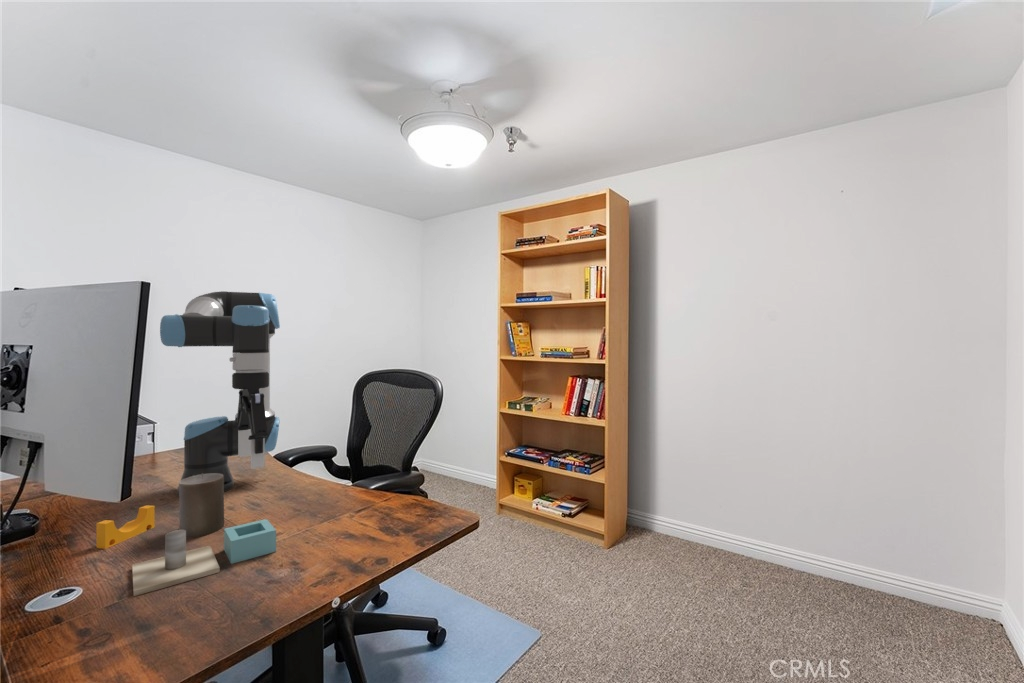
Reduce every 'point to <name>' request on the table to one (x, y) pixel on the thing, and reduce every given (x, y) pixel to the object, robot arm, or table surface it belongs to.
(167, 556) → the post block
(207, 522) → the pillar candle
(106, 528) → the pipe clamp
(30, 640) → the table surface
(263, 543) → the collar
